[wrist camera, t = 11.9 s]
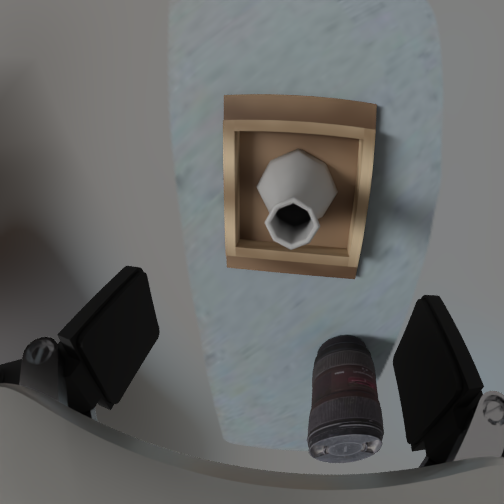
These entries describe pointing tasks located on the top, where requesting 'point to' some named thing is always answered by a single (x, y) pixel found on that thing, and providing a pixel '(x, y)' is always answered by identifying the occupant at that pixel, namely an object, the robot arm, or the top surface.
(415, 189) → the top surface
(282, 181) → the flask
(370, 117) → the shaker holder
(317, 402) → the camera lens
